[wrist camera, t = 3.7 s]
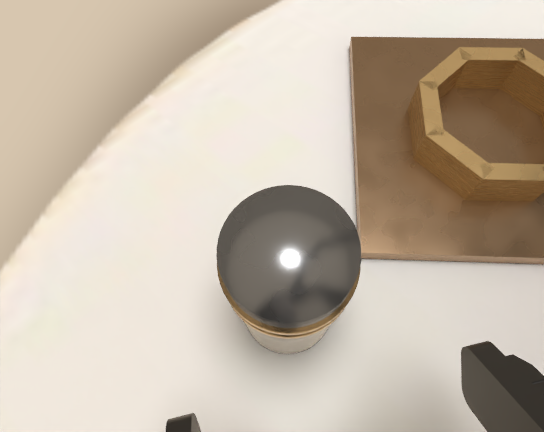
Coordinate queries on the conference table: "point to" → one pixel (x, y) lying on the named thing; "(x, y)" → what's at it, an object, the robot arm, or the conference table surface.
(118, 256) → the conference table surface
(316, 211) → the cylinder
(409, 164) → the octagon frame base plate
